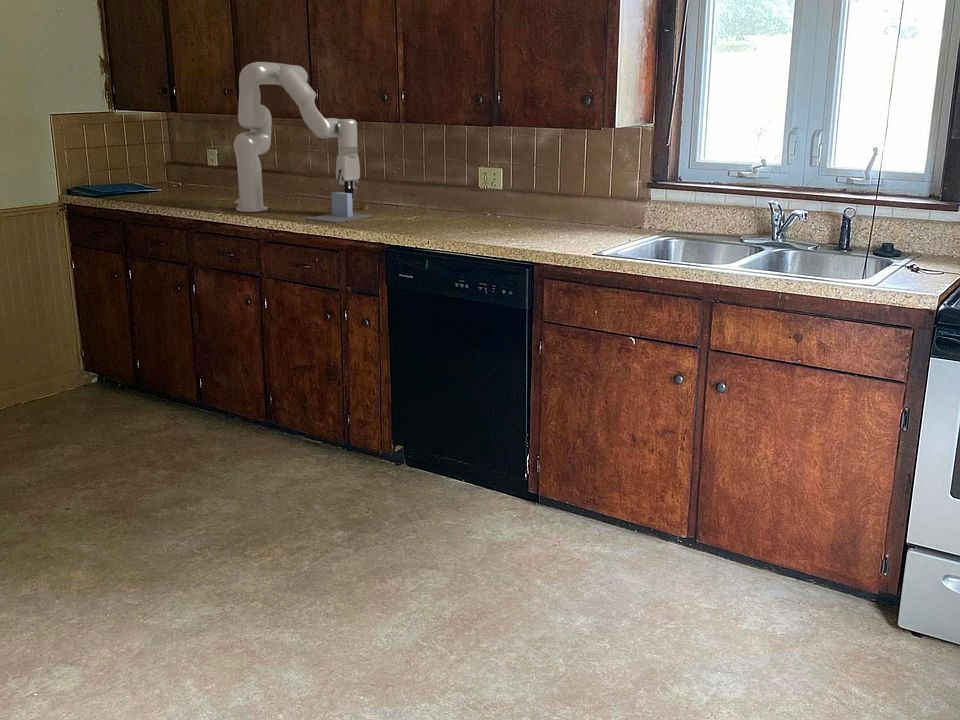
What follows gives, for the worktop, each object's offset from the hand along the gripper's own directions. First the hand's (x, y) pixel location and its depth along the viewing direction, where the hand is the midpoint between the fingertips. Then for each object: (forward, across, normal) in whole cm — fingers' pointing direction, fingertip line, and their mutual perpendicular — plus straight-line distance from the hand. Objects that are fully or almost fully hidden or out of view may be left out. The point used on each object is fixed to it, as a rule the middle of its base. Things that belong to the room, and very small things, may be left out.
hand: (349, 198), depth 380 cm
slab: (+7, +4, 0) cm, 8 cm away
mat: (+7, +8, +1) cm, 10 cm away
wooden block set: (+8, -11, -10) cm, 17 cm away
